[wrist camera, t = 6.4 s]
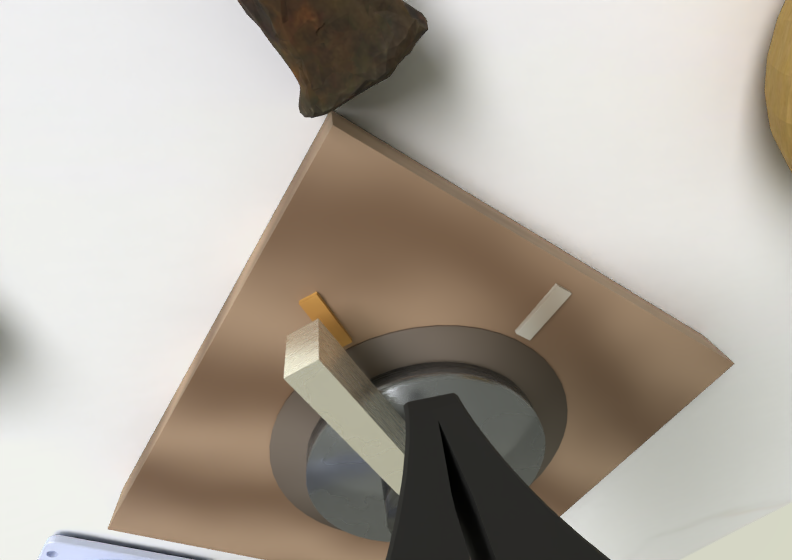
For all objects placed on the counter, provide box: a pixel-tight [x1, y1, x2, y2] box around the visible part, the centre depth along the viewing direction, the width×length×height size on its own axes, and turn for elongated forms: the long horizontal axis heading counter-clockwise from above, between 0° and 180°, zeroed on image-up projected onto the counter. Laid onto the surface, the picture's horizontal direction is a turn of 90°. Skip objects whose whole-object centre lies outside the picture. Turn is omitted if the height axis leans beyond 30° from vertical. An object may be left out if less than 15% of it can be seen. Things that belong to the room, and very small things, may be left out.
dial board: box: [108, 111, 734, 560], centre depth 22 cm, size 20×20×2 cm
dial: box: [284, 319, 545, 542], centre depth 19 cm, size 14×10×3 cm
